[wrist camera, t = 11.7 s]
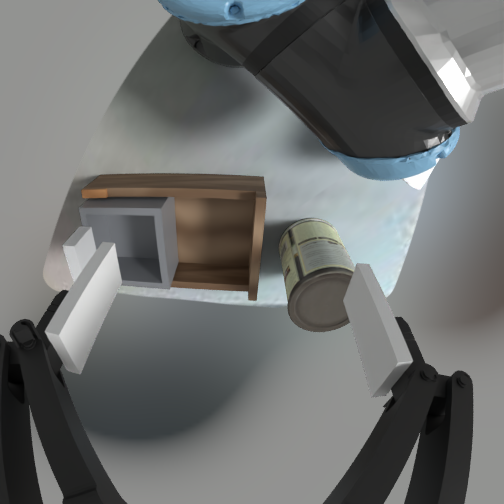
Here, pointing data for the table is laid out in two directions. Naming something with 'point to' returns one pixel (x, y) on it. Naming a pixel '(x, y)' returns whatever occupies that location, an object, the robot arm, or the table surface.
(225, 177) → the bay
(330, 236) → the coffee can
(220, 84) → the table surface
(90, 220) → the box
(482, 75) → the robot arm
